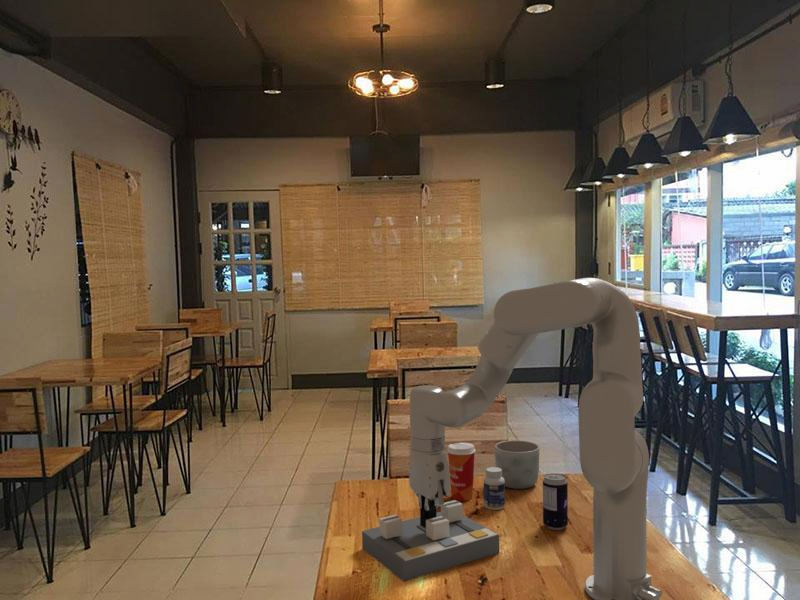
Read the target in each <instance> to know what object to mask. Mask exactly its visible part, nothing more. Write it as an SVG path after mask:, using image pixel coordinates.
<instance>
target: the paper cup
mask: <svg viewBox="0 0 800 600" xmlns="http://www.w3.org/2000/svg"><path fill="white" fill-rule="evenodd" d="M476 451H477V450H476V449H475V445H474V444H472V443H468V442H455V443H453V444H452V443H450V444H449V445H448V447H447V449H446V453H447V460H448V466H449V478H450V495H451V496H450V497H451V499H452V500H453V501H454V500H456V501H458V502H466V501H470V500H472V499H473V494H474V478H475V477H474V472H475V454H476V453H475V452H476Z"/></svg>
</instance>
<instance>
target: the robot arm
mask: <svg viewBox="0 0 800 600" xmlns="http://www.w3.org/2000/svg"><path fill="white" fill-rule="evenodd" d="M493 308H494V309H493V319H494V321H493V323H492V324H491V326H490V328H489V329H488V330H487V332H486V333H485V334H484V336H483V337H482V339H481V340H480V341H479V343H478V346H477V347H478V351H479V354H480V358H479V362H478V363H477V366H476V367H475V368H474V370H473V372H471V374H470V376H469V377H468V378H467V380H466V381H465V383H464V384H463V385H462V386H458V387H456V388H454V389H450V390H448V391H444V389H443V388H441V387H440V386H436V385H429V384H427V385H418V386H414V387H412V389H411V390H410V393H409V420H410V421H409V428H410V430H409V432H410V433H409V434H410V436H409V437H410V448H409V449H410V452H409V453H410V454H409V467H408V473H409V474H408V477H409V478H408V479H409V487H410V488H411V490H412V491H413V493H414V494H415V496H416V497H417V498H418V506H419V515H420V516H419V517H420V525H421V526H422V527H424V528H426V520H427V519H431V518H435V517H436V513H437V509H438V508H439V507H441V506H443V505H444V503H445V500H444V497H445V498H448V497H450V495H451V485H450V473H449V459H448V454H447V451H446V427H447V428H453V429H454V428H461V427H463V426H464V425H466V424H468V423H470V422H472V421H473V420H475V419H478V418H480V417H481V416H482V415H483V414H485V413H486V412H487V410H488V409H489V408H490V406H491V405H492V404H493V403H494V402H495V400H496V399H497V398H498V396H499V395H500V393H501V392H502V390H503V389H504V387H505V386H506V385H507V382H508V381H509V378H510V377H511V375H512V372H513V370H514V368H515V367H516V365H517V364H518V363H519V361H520V359H521V358H522V357H523V356H524V355H525V353H526V352H527V350H528V349H529V347H530V346H531V345H532V343H533V342H534V341H535V340H536V338H537V337H538V336H539V335H540V334H541V333H543V334H544V333H548V332H555V331H559V330H568V329H575V328H579V327H583V326H586V325H587V326H588V325H589V324H590V325H591V327H592V330H593V331H592V332H593V340H592V361H593V363H592V365H593V367H592V371H593V373H592V380H590V381H589V382H588V383H587V384H586V385H585V386H584V388H583V389H582V391H581V393H580V396H579V400H578V411H577V412H578V413H577V414H578V441H579V443H578V445H579V464H580V469H581V471H582V474H583V477H584V479H585V480H586V481H587V483H588V484H589V485H590V486H591V487H592V488H593V496H592V497H593V498H592V499H593V505H592V506H593V509H592V513H593V515H592V517H593V518H592V521H593V522H592V523H593V528H592V532H593V534H592V535H593V536H592V537H593V538H592V541H593V542H592V543H593V545H592V546H593V557H592V559H593V560H592V561H593V562H592V563H593V574H591V575H590V576H588V577H587V578H586V580H585V581H584V582H585V583H584V590H585V592H586V594H587V595H588V596H589V597H591V599H593V600H660V598H661V597H662V595H663V591H662V590H661V589H659V588H657V587H655V586H653V585H652V575H651V574H649V573H647V514H648V512H647V511H648V510H647V509H648V505H647V504H648V503H647V501H648V498H647V497H648V479H649V468H650V467H649V463H650V454H649V449H648V445H647V442H646V440H645V438H644V437H643V436H642V434H640V433H641V432H638V430H636V428H635V419H636V418H635V417H636V416H637V415H638V413H639V412H640V411H641V408H642V406H643V402H644V389H643V374H642V373H643V372H642V371H643V370H642V369H643V368H642V355H641V335H640V333H641V332H640V331H641V330H640V322H639V317H638V313H637V311H636V309H635V306H634V304H633V302H632V300H631V299H630V298H629V296H628V295H627V294H626V293H625V292H624V290H623V289H621V288H619V287H617V286H616V285H614V284H613V283H610V282H609V281H606V280H604V279H601V278H597V277H582V278H576V279H569V280H563V281H560V282H555V283H550V284H544V285H539V286H535V287H530V288H529V287H528V288H522V289H515V290H510V291H508V292H505V293H504V294H503V295H501V296H500V297H499V298H498V299H497V301H496V303H495V306H494V307H493Z"/></svg>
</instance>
